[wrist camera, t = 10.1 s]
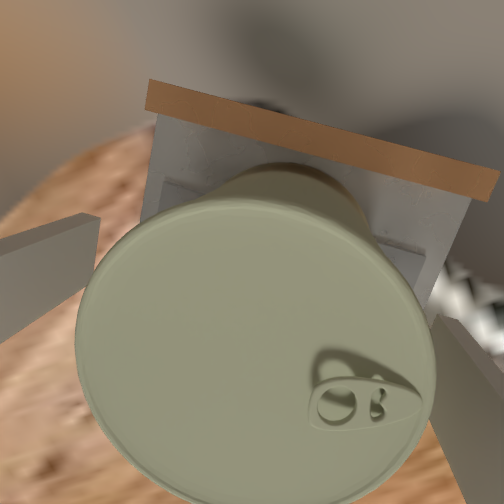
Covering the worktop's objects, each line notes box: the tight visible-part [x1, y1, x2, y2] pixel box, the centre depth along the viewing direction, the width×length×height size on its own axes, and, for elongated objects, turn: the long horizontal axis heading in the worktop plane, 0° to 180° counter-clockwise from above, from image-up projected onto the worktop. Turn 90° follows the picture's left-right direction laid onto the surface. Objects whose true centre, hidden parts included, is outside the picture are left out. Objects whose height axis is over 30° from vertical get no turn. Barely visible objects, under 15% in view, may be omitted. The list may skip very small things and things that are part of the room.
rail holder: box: [140, 79, 501, 310], centre depth 20 cm, size 16×13×5 cm
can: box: [75, 162, 437, 504], centre depth 15 cm, size 9×9×12 cm
